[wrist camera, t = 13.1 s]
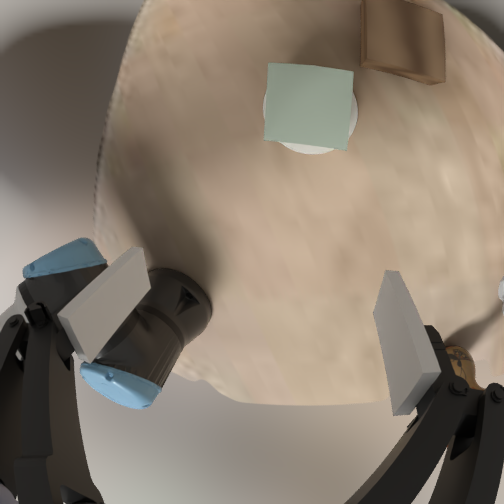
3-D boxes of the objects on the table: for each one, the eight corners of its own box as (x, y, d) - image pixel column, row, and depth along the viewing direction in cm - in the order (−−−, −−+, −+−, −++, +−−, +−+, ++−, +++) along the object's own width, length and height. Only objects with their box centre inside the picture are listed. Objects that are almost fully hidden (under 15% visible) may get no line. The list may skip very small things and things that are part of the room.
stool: (276, 135, 33) (263, 140, 25) (279, 76, 29) (268, 62, 21) (338, 143, 31) (346, 150, 23) (343, 83, 27) (353, 71, 20)
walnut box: (360, 66, 26) (366, 58, 22) (360, 5, 22) (365, -10, 17) (430, 85, 25) (445, 81, 20) (429, 24, 20) (442, 14, 16)
